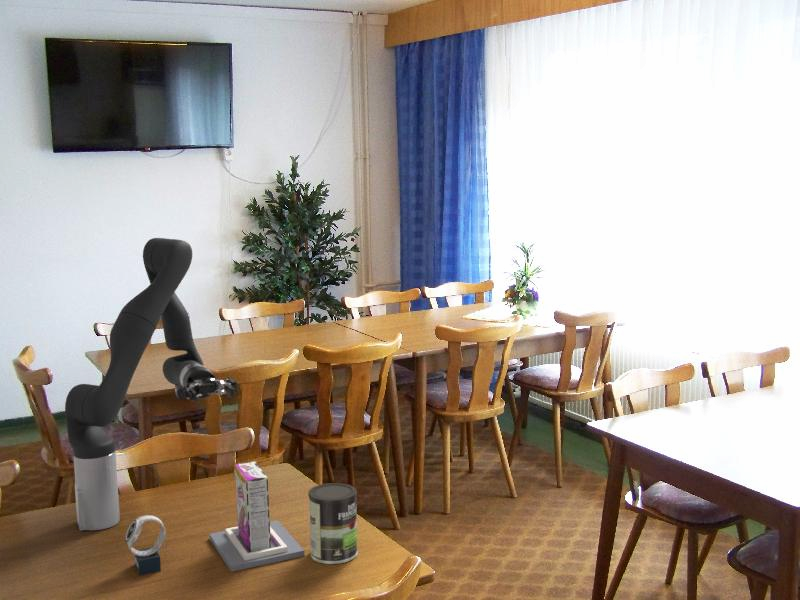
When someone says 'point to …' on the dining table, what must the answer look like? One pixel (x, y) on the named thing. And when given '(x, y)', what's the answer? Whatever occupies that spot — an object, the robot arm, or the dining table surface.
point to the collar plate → (241, 558)
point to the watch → (147, 557)
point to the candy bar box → (252, 506)
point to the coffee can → (333, 523)
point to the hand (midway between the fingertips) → (213, 395)
